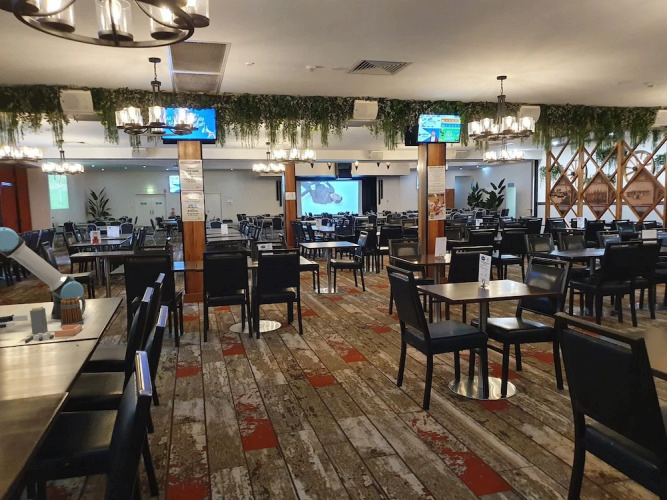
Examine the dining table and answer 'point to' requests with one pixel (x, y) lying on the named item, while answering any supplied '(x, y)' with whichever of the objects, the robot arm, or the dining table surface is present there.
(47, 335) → the cable clips
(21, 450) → the dining table surface
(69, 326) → the end holder
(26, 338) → the board
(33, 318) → the grey tall block
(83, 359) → the dining table surface
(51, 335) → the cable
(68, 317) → the mug
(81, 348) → the dining table surface
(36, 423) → the dining table surface
